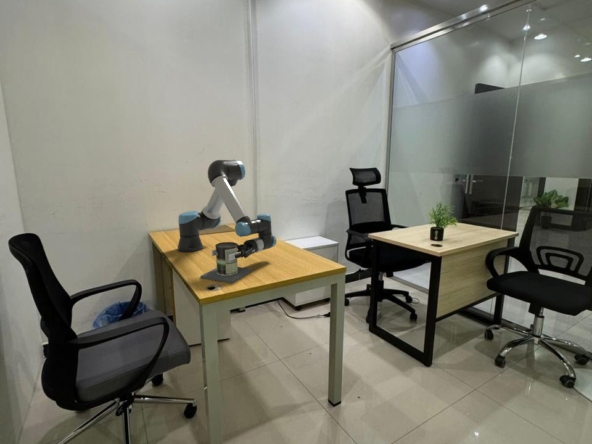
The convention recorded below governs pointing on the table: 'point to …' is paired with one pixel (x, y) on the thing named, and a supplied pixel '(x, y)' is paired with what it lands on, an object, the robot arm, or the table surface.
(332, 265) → the table surface
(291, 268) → the table surface
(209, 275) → the rubber mat
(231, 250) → the coffee can
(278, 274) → the table surface
